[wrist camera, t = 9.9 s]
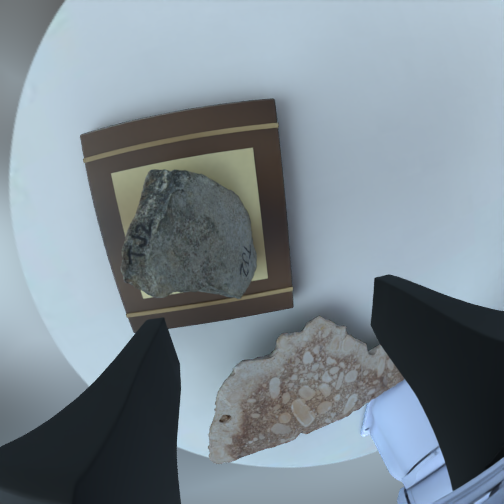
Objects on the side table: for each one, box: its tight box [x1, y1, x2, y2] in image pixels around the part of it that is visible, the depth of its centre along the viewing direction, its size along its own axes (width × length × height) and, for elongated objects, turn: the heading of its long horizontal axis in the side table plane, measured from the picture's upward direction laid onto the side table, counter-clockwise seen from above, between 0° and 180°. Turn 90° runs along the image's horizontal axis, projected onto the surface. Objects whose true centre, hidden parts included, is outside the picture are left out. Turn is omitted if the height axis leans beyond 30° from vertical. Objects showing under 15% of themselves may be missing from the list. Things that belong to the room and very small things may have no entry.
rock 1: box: [121, 169, 257, 299], centre depth 14 cm, size 6×7×5 cm
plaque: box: [80, 99, 293, 333], centre depth 17 cm, size 12×10×1 cm
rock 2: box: [208, 316, 404, 464], centre depth 21 cm, size 18×4×10 cm
